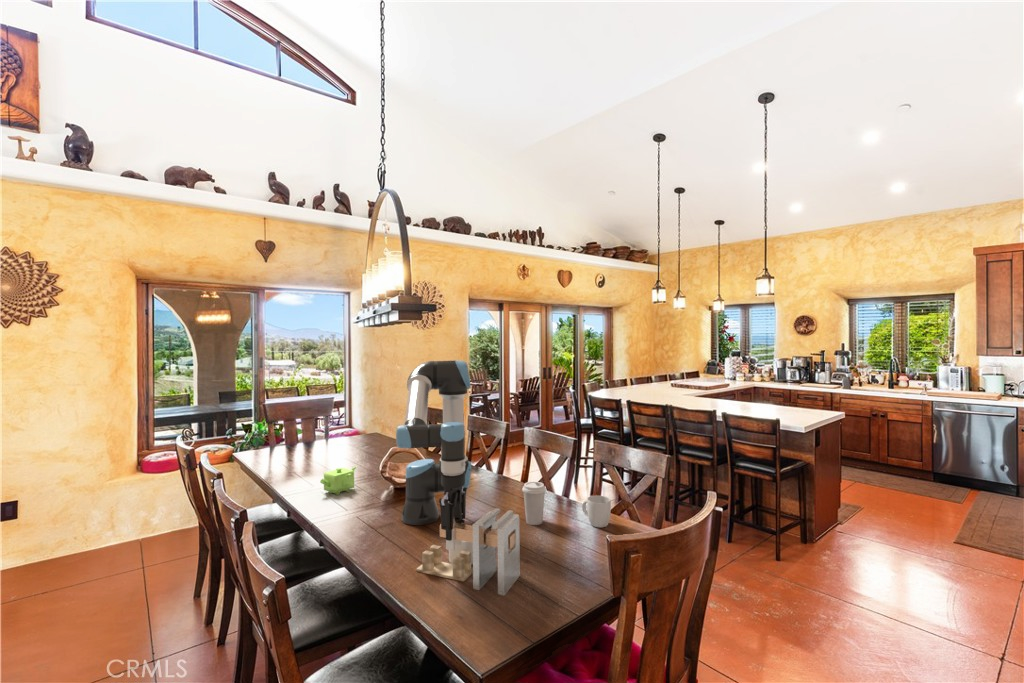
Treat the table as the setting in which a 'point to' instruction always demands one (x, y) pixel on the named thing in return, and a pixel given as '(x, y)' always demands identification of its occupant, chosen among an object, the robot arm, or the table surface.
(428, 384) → the robot arm
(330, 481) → the green boxy piggy bank
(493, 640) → the table surface
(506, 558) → the twin slotted uprights
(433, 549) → the rack
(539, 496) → the coffee cup
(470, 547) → the mug
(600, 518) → the mug
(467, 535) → the block
